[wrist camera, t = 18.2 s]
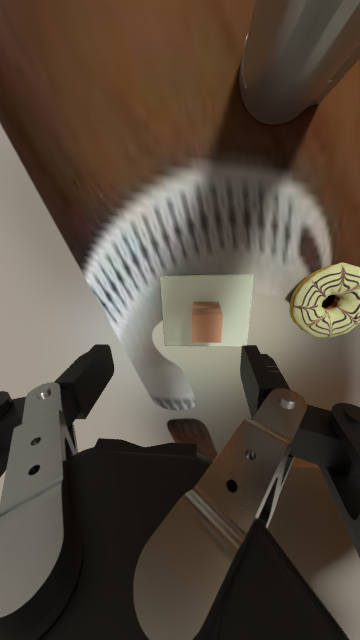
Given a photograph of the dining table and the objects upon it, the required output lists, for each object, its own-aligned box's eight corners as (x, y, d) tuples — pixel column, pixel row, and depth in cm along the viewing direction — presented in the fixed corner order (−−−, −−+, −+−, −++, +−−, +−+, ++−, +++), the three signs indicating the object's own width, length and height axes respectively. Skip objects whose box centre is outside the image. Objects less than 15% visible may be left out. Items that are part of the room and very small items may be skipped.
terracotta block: (218, 301, 32) (222, 315, 26) (217, 325, 33) (221, 342, 28) (193, 301, 32) (191, 315, 27) (193, 324, 34) (191, 342, 28)
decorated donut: (375, 294, 30) (398, 301, 27) (314, 341, 34) (327, 353, 31) (332, 247, 29) (350, 248, 25) (272, 302, 32) (281, 310, 29)
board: (252, 273, 31) (253, 275, 30) (245, 343, 35) (246, 346, 34) (161, 275, 32) (160, 276, 31) (165, 342, 37) (164, 345, 36)
